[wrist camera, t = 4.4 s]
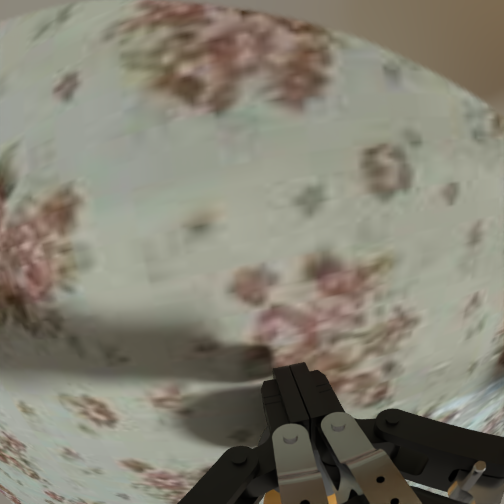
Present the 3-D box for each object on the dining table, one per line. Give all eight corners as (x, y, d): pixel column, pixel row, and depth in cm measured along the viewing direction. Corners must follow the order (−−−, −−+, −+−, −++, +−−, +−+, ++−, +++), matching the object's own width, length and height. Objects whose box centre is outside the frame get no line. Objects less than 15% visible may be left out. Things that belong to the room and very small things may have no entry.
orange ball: (296, 494, 19) (311, 546, 14) (242, 483, 18) (252, 544, 12) (346, 460, 18) (370, 515, 13) (294, 446, 17) (316, 514, 11)
